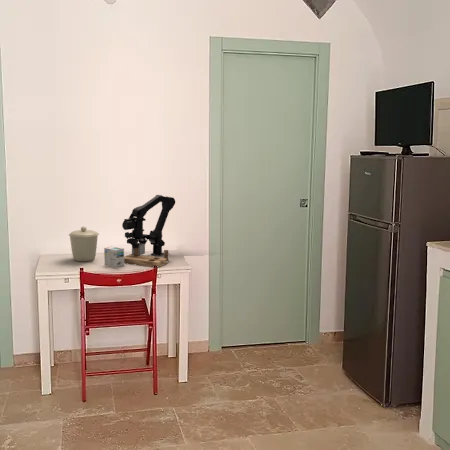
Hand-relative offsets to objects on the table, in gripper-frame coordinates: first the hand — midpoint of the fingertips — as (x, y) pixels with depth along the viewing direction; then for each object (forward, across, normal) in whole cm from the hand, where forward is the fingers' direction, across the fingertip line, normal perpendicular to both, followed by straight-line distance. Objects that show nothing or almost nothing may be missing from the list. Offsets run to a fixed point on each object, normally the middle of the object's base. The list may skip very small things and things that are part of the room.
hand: (138, 252), depth 377 cm
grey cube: (+1, 0, 0) cm, 1 cm away
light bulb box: (+4, +23, -3) cm, 24 cm away
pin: (+4, 0, +20) cm, 20 cm away
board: (+4, +10, +10) cm, 15 cm away
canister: (+4, +20, -27) cm, 34 cm away
